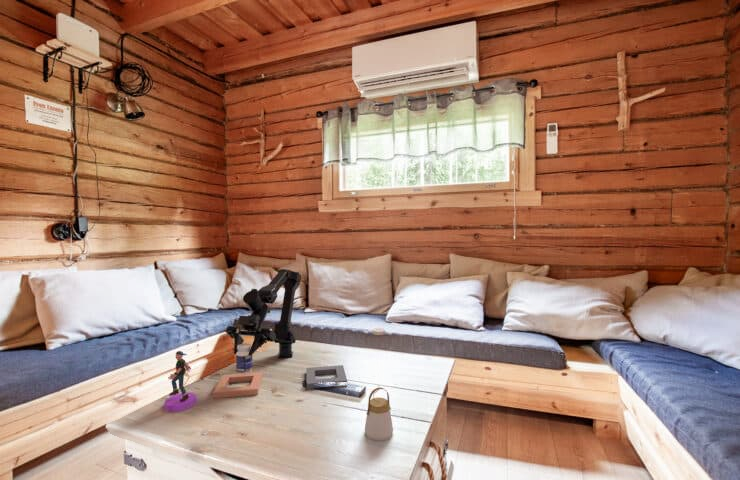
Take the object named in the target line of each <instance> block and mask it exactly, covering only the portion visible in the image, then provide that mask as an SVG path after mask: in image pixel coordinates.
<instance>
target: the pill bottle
mask: <svg viewBox="0 0 740 480" xmlns="http://www.w3.org/2000/svg"><path fill="white" fill-rule="evenodd" d="M251 346H252V344H251V343H245V342H244V343H242V344H240V345H238V346H237V350H238V351H237V353H236V355H235V366H236V367H235V368H236V369H235V371H236V374H248V373H253V369H254V367H253V364H254V363H253V354H252V355H251V356H249V351H250V349H251Z"/></svg>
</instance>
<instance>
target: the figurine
mask: <svg viewBox="0 0 740 480" xmlns="http://www.w3.org/2000/svg"><path fill="white" fill-rule="evenodd" d="M187 355H188V354H187V353H184V352H183V351H181V350H177V351H176V353H175V359H176V363H175V370H176V371H175V372H173V373H171V374H170V375H169V376H168V377H167V378H168V380H169V381H171V386H172V391H171V392H170V393H169V397H168V398H166V399H165V401H164V410H165V411H167V412H171V413H174V412H175V413H176V412H181V411H185V410H187V409H190V408H192V407H193V406H195V405H196V404H197V394H196V393H194V392H187V390H186V389H185V387H184V380H185V378H184V377H185V374H186V372H187V373H191V372H190V371H191V370H192V368H191V366H190V365H189V363H187V362H186V360H185V359H184V358H183V357H184V356H187ZM177 381H178V383H177ZM177 384H178V385H177ZM179 390H180V392H179Z"/></svg>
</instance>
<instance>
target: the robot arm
mask: <svg viewBox="0 0 740 480" xmlns="http://www.w3.org/2000/svg"><path fill="white" fill-rule="evenodd" d="M301 281H302V274H300V272H298V271H293V270H291V269H287V268H280V269H278V271H277V274H276V275H275V276H274V277H273V279H272V280H270V282H269V283H268V284H267V285H264V286H262V287H261V288H260V289H257V288H251V290H249V291H248V292H246V293H245V294H244V295H243V296H242V301H243V303H244V304H245V306H247V307H248V309H249V310H250V311H252V312H251V313H250V314H248V315H239V316H238V320H237V325H228V326H227V327H226V329H225V331H224V332H225V333H226V334H227V335H228V336H229V338H231V339H232V340H234V342H233V343H234V344H233V345H234V346H233V354H234V355H235V356H236V353H237V351H238V350H237V346H238V345H240V344H244V343H245V339H244V338H243V336H248V337H253V342H252V344H251V348H250V351H249V356H251V355H252V356H253V354H254V353H255V352H256V351H257V350H258V349H259V348H260V347H262V346H263V345H264V344H268V342H271V343H273V342H274V344H278V347H279V348H278V354H277V358H278V359H283V358H292V357H293V354H294V351H293V349H292V347H293V344H296V341H297V336H296V334H295V332H294V326H293V323H292V315H293V314H292V313H293V308H294V301H295V296H296V294H295V293H296V291H297V290H298V289H299V287H300V284H301ZM282 287H283V288H284V293H283V299H282V305H281V306H282V307H281V312H280V313H281V314H280V319H279V321H278V322H277V323H275V325H274V330H273V329H272V328H271V327H269V328H268V327H263V326H265V324H266V322H265V319H266V317H267V314H271V309H270V306H268V304H269V305H270V304H271V305H272V304H274V303H275V302H276V300H277V298H278V292H279V290H280V289H281V288H282ZM238 325H241V327H242V329H241V328H240V327H239V326H238Z"/></svg>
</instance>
